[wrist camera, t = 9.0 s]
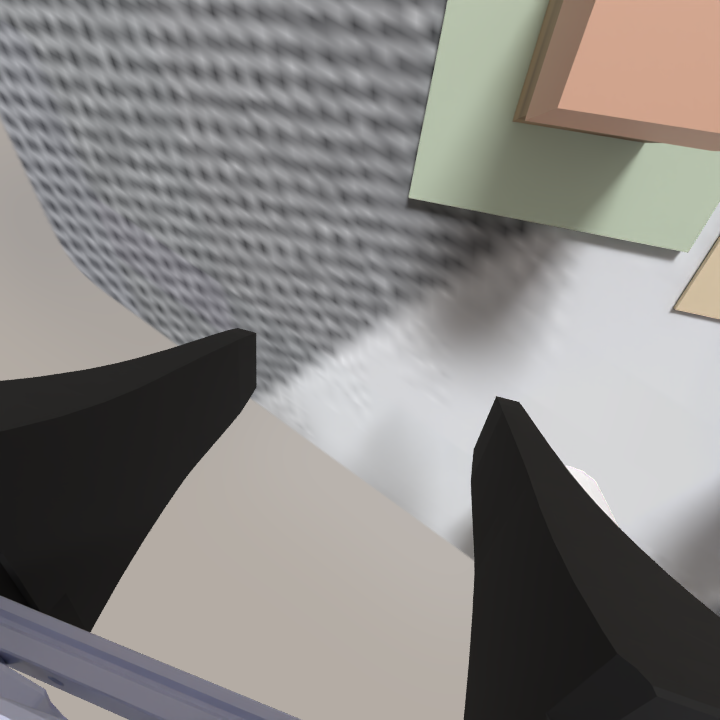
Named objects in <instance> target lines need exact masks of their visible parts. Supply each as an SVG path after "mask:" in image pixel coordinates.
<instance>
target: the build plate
mask: <svg viewBox="0 0 720 720" xmlns="http://www.w3.org/2000/svg"><path fill="white" fill-rule="evenodd" d="M548 3H549V0H448V1H447V6H446V12H445V17H444V22H443V27H442V32H441V37H440V42H439V47H438V52H437V57H436V62H435V67H434V72H433V77H432V82H431V87H430V92H429V97H428V102H427V107H426V112H425V117H424V122H423V127H422V132H421V137H420V142H419V147H418V153H417V158H416V163H415V168H414V173H413V178H412V183H411V188H410V193H409V198H412V199H418V200H423V201H428V202H433V203H438V204H443V205H448V206H453V207H458V208H463V209H468V210H473V211H479V212H484V213H489V214H494V215H499V216H504V217H509V218H514V219H519V220H524V221H529V222H535V223H540V224H545V225H550V226H555V227H560V228H565V229H570V230H575V231H580V232H585V233H590V234H596V235H601V236H606V237H611V238H616V239H621V240H626V241H631V242H636V243H641V244H646V245H651V246H657V247H662V248H667V249H672V250H677V251H682V252H687V253H688V252H689V251H690V249H691V247H692V246H693V244H694V242H695V241H696V239H697V238H698V236H699V234H700V233H701V231H702V229H703V228H704V226H705V225H706V223H707V221H708V220H709V218H710V216H711V215H712V213H713V212H714V210H715V208H716V207H717V205H718V203H719V202H720V151H709V150H702V149H696V148H690V147H684V146H678V145H672V144H665V143H642V142H636V141H630V140H624V139H618V138H611V137H605V136H599V135H593V134H587V133H580V132H574V131H568V130H562V129H556V128H549V127H543V126H537V125H531V124H525V123H518V122H512V121H513V118H514V114H515V111H516V108H517V105H518V101H519V98H520V95H521V91H522V88H523V85H524V82H525V78H526V75H527V72H528V69H529V65H530V62H531V59H532V55H533V52H534V49H535V46H536V42H537V39H538V36H539V33H540V29H541V26H542V23H543V19H544V16H545V13H546V10H547V6H548Z"/></svg>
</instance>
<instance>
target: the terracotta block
mask: <svg viewBox="0 0 720 720" xmlns="http://www.w3.org/2000/svg"><path fill="white" fill-rule="evenodd" d="M525 121H530V122H536V123H542V124H548V125H555V126H561V127H567V128H573V129H579V130H585V131H592V132H598V133H604V134H610V135H616V136H622V137H629V138H635V139H641V140H647V141H653V142H659V143H665V144H672V145H678V146H684V147H690V148H696V149H702V150H709V151H720V0H563V3H562V6H561V9H560V13H559V16H558V19H557V22H556V25H555V28H554V31H553V34H552V37H551V41H550V44H549V47H548V50H547V53H546V56H545V59H544V62H543V65H542V68H541V72H540V75H539V78H538V81H537V84H536V87H535V90H534V93H533V96H532V100H531V103H530V106H529V109H528V112H527V115H526V118H525Z"/></svg>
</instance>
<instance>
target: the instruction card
mask: <svg viewBox="0 0 720 720" xmlns="http://www.w3.org/2000/svg"><path fill="white" fill-rule="evenodd" d="M674 309H675V310H679V311H684V312H688V313H693V314H697V315H702V316H707V317H711V318H716V319H720V237H719V238H718V240H717V241H716V243H715V244H714V246H713V248H712V249H711V251H710V252H709V254H708V255H707V257H706V258H705V260H704V262H703V263H702V265H701V266H700V268H699V269H698V271H697V272H696V274H695V275H694V277H693V279H692V280H691V282H690V283H689V285H688V286H687V288H686V289H685V291H684V292H683V294H682V296H681V297H680V299H679V300H678V302H677V303H676V305H675V306H674Z"/></svg>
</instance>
